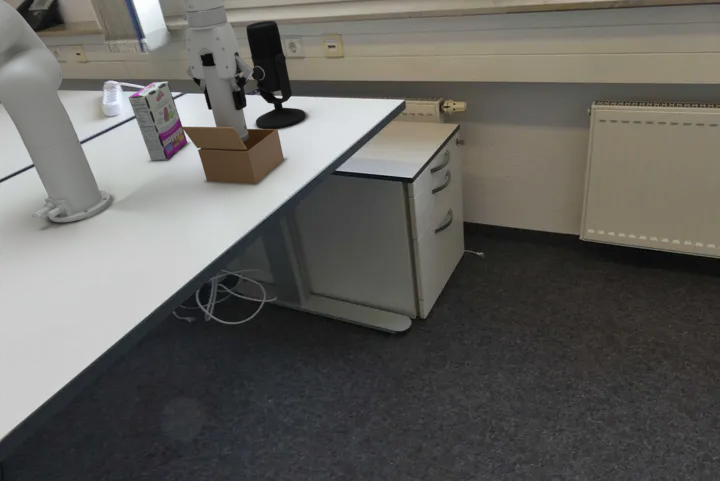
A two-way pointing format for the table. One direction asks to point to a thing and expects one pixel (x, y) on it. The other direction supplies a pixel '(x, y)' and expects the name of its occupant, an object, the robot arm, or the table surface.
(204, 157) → the carton
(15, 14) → the robot arm
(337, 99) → the table surface
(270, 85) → the microphone
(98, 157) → the table surface
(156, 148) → the candy bar box
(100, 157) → the table surface
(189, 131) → the front flap
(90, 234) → the table surface
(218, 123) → the travel mug
